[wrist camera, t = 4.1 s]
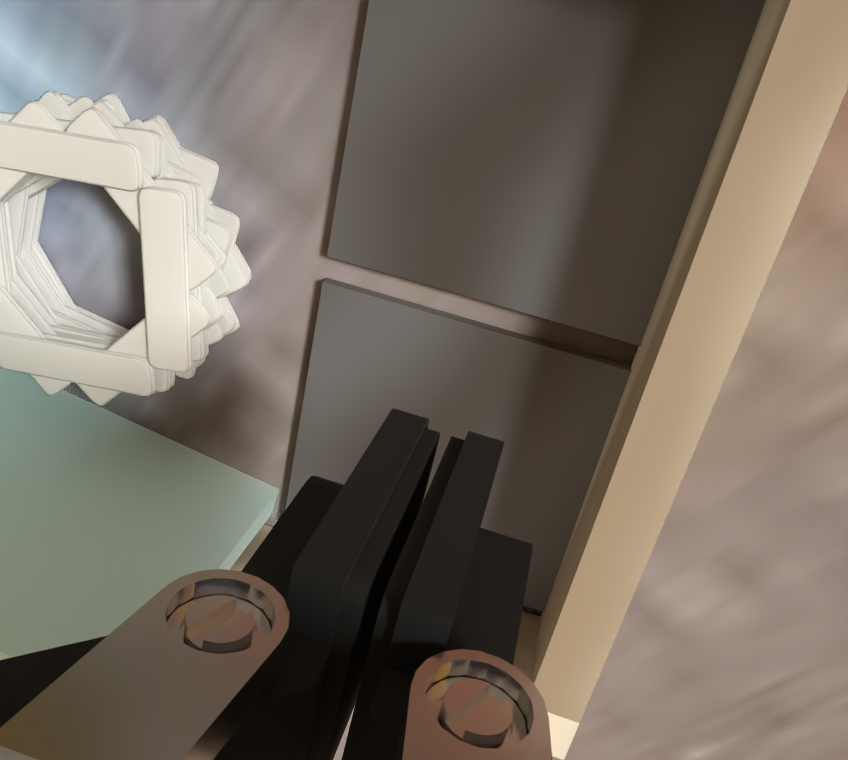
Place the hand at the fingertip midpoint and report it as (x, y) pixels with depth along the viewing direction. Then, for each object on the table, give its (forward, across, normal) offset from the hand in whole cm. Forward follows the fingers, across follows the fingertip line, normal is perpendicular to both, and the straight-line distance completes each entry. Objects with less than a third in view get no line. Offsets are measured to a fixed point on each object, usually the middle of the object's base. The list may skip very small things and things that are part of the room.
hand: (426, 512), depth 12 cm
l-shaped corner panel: (+7, +10, 0) cm, 12 cm away
